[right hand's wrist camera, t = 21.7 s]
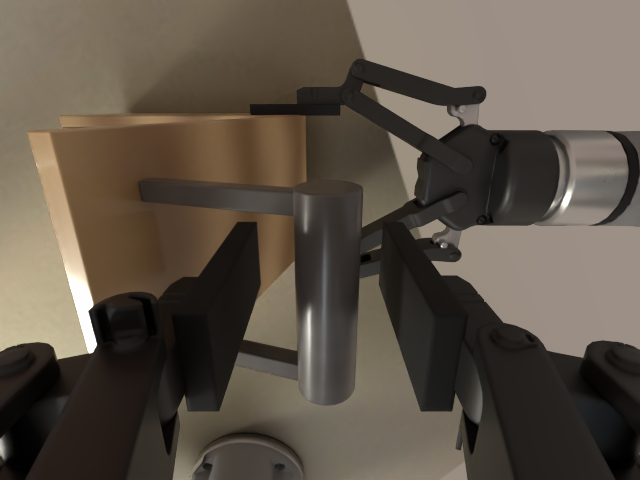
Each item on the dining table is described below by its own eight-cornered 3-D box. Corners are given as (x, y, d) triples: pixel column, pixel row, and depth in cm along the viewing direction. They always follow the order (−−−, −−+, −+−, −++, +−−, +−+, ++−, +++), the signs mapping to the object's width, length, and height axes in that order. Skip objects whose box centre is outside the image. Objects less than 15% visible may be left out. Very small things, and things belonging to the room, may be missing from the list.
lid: (108, 425, 12) (330, 501, 10) (25, 130, 9) (335, 139, 6) (297, 246, 28) (400, 258, 26) (294, 115, 25) (413, 116, 22)
